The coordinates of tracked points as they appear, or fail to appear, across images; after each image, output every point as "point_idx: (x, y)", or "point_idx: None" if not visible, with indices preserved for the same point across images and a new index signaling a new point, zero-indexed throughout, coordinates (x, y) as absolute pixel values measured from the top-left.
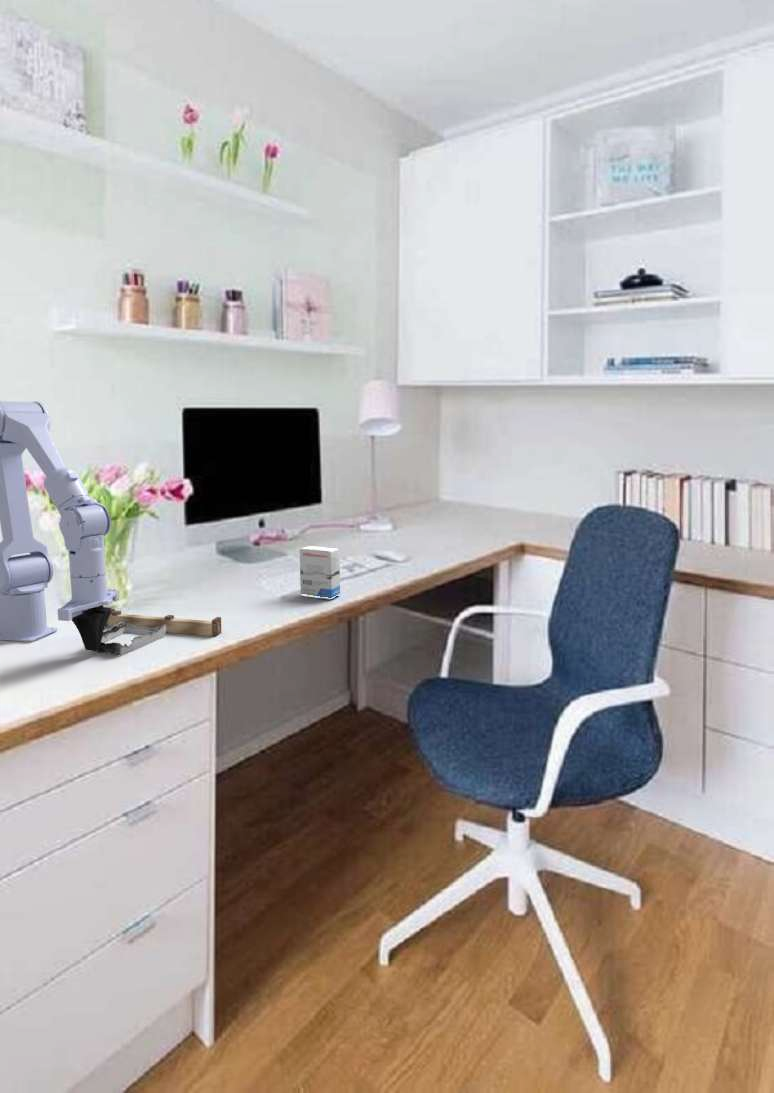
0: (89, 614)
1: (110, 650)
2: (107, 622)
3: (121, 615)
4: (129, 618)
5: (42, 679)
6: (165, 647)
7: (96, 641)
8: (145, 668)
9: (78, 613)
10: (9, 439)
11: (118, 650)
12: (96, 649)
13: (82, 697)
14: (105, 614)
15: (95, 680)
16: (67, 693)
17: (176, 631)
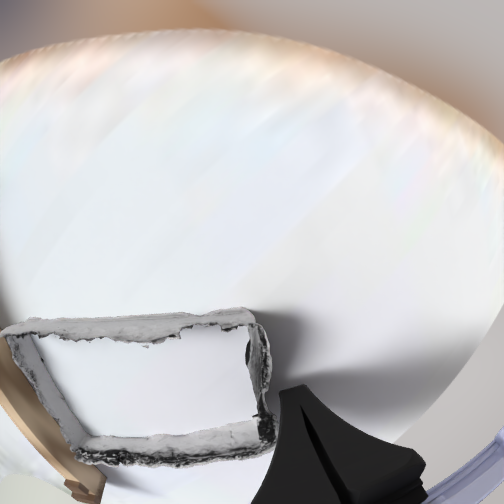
0: (399, 492)
1: (251, 365)
2: (100, 482)
3: (69, 476)
4: (58, 456)
5: (461, 323)
6: (77, 230)
7: (320, 401)
8: (317, 113)
9: (450, 482)
10: None
11: (255, 329)
12: (302, 386)
13: (497, 153)
14: (327, 492)
15: (448, 198)
16: (497, 200)
17: None
